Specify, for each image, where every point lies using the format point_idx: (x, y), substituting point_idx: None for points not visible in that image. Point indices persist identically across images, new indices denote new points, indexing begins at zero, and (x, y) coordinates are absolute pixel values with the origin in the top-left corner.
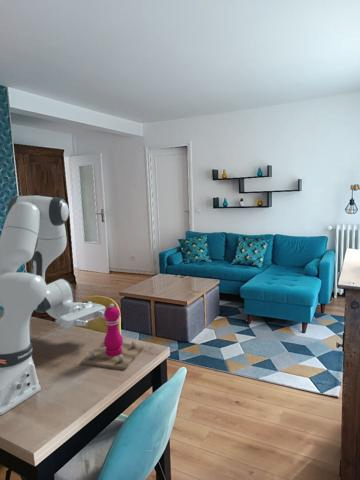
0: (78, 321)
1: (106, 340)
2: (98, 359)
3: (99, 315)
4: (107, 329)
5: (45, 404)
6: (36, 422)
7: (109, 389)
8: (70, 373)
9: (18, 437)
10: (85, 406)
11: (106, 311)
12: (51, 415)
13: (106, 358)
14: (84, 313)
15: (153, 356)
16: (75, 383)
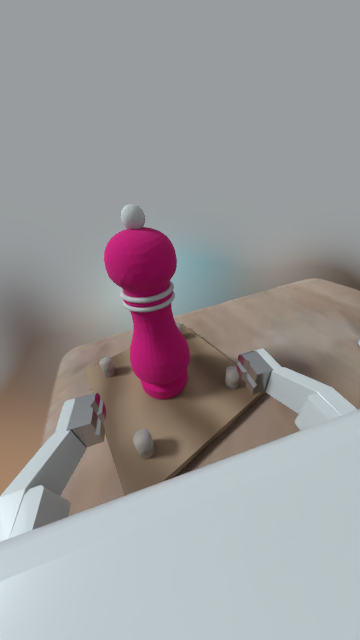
0: (314, 385)
1: (185, 340)
2: (216, 369)
3: (63, 509)
4: (171, 320)
5: (327, 313)
6: (328, 296)
7: (226, 306)
8: (294, 366)
9: (343, 288)
10: (264, 296)
11: (167, 237)
12: (309, 298)
13: (197, 363)
14: (253, 502)
15: (112, 338)
16: (279, 333)
